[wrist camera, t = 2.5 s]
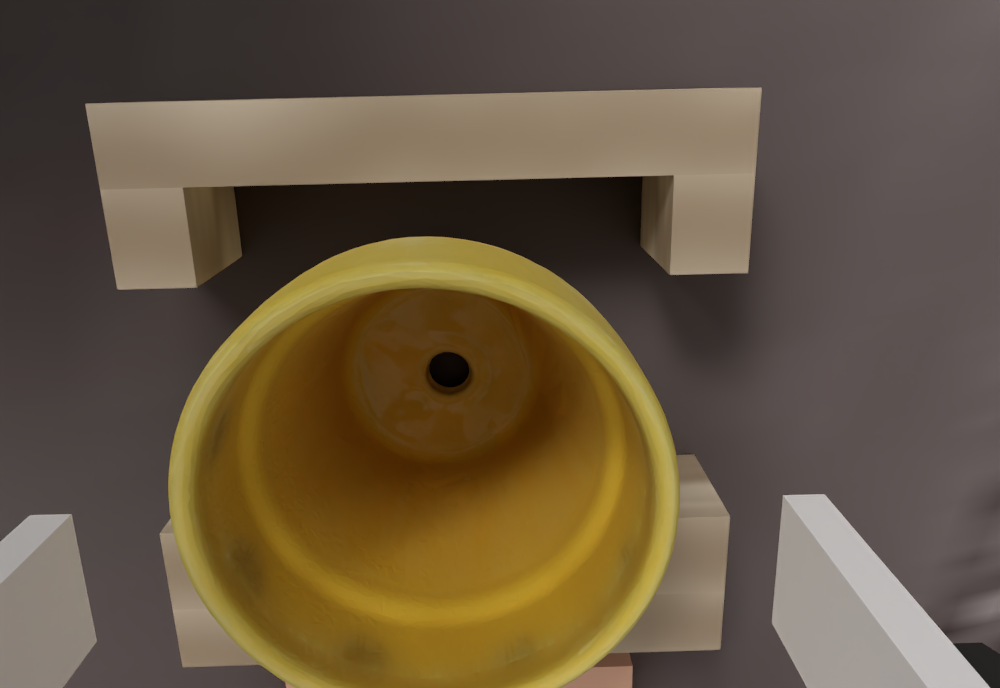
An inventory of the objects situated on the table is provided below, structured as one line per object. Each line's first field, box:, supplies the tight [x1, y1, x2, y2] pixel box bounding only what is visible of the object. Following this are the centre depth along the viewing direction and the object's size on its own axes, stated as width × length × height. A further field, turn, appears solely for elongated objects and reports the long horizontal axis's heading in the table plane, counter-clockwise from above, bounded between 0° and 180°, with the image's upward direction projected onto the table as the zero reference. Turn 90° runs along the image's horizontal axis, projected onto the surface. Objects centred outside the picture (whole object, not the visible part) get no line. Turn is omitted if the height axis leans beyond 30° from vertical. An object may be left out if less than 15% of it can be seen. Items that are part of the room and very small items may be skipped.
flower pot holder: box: [85, 88, 762, 667], centre depth 23 cm, size 16×16×4 cm
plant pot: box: [168, 236, 680, 688], centre depth 20 cm, size 10×10×10 cm
